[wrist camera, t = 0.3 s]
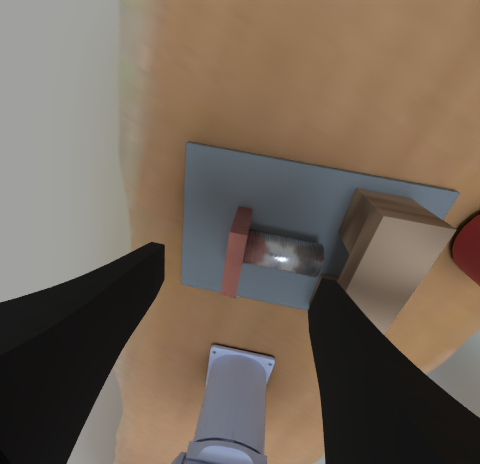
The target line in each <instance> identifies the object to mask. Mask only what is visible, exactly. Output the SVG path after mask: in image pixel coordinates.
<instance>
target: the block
mask: <svg viewBox="0 0 480 464" xmlns="http://www.w3.org/2000/svg"><path fill="white" fill-rule="evenodd" d="M456 231H457V230H456V229H455V228H453V227H452V226H450V225H449V224H448V223H446V222H445V221H443V220H442V219H440V218H439V217H437V216H436V215H434V214H433V213H431V212H430V211H429V210H427V209H426V208H424V207H423V206H421V205H420V204H418V203H417V202H415V201H414V200H413V199H411V198H407V197H402V196H396V195H391V194H385V193H380V192H375V191H369V190H364V189H359V188H356V190H355V192H354V195H353V197H352V199H351V202H350V204H349V207H348V209H347V211H346V214H345V216H344V219H343V221H342V224H341V226H340V228H339V231H338V233H339V235H340V237H341V239H342V241H343V243H344V245H345V247H346V249H347V251H348V253H349V255H350V256H349V258H348V260H347V262H346V264H345V266H344V268H343V271H342V273H341V275H340V277H335V276H330V275H326V274H320V277H319V279H318V282H317V284H316V286H315V289H314V291H313V294H312V296H311V299H310V301H309V307H310V304H311V302H312V300H313V297H314V295H315V293H316V290H317V288H318V286H319V283H320V281H321V279H322V278H327V279H332V280H336V281H337V282H338V283H339V284H340V286H341V287H342V288H343V289H344V290H345V291H346V293H347V294H348V295H349V296H350V297H351V299H352V300H353V301H354V302H355V303H356V305H357V306H358V307H359V308H360V309H361V310H362V312H363V313H364V314H365V315H366V316H367V317H368V318H369V320H370V321H371V322H372V323H373V324H374V325H375V326H376V327H377V328H378V329H379V330H380V331H381V332H382V334H383V335H384V334H385V332H386V331H387V329H388V328H389V326H390V325H391V324H392V322H393V321H394V319H395V318H396V316H397V315H398V314H399V312H400V311H401V309H402V308H403V306H404V305H405V304H406V302H407V301H408V299H409V298H410V296H411V295H412V293H413V292H414V291H415V289H416V288H417V286H418V285H419V283H420V282H421V281H422V279H423V278H424V276H425V275H426V273H427V272H428V271H429V269H430V268H431V266H432V265H433V263H434V262H435V261H436V259H437V258H438V256H439V255H440V253H441V252H442V251H443V249H444V248H445V246H446V245H447V243H448V242H449V241H450V239H451V238H452V236H453V235H454V233H455V232H456Z"/></svg>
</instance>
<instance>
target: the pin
mask: <svg viewBox="0 0 480 464" xmlns="http://www.w3.org/2000/svg"><path fill="white" fill-rule="evenodd" d="M252 211H253V209H251V208H246V207H241V206H239V207H238V209H237V212H236V215H235V218H234V221H233V224H232V227H231V229H230V233H229V239H228V246H227V253H226V259H225V266H224V273H223V279H222V286H221V293H220V295H225V296H230V297H235V298H236V293H237V288H238V283H239V278H240V273H241V268H242V263H245V264H250V265H255V266H260V267H265V268H270V269H275V270H280V271H284V272H289V273H294V274H299V275H304V276H309V277H314V278H316V277H318V276H319V274H320V272H321V269H322V266H323V261H324V247H323V245H322V244H320V243H315V242H310V241H305V240H299V239H294V238H289V237H284V236H279V235H274V234H269V233H264V232H259V231H254V230H249V227H250V222H251V217H252Z"/></svg>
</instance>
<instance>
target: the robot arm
mask: <svg viewBox="0 0 480 464" xmlns="http://www.w3.org/2000/svg"><path fill="white" fill-rule="evenodd" d="M164 264H165V245H164V244H159V243H154V242H151V243H148V244H146V245H144V246H142V247H140V248H138V249H136V250H135V251H133V252H131V253H129V254H127V255H125V256H123V257H121V258H119V259H117V260H115V261H113V262H111V263H109V264H107V265H104V266H102V267H100V268H98V269H96V270H93V271H91V272H89V273H87V274H85V275H82V276H80V277H77V278H75V279H72V280H70V281H67V282H64V283H61V284H59V285H56V286H53V287H51V288H47V289H44V290H41V291H38V292H35V293H31V294H28V295H25V296H22V297H19V298H15V299H12V300H8V301H4V302H1V303H0V464H66V463H67V461H68V459H69V457H70V455H71V452H72V450H73V448H74V446H75V444H76V441H77V439H78V437H79V435H80V432H81V430H82V428H83V426H84V424H85V422H86V420H87V418H88V416H89V414H90V412H91V409H92V407H93V405H94V403H95V401H96V399H97V397H98V395H99V393H100V391H101V389H102V387H103V385H104V383H105V381H106V379H107V377H108V375H109V373H110V372H111V370H112V368H113V366H114V364H115V362H116V360H117V358H118V356H119V355H120V353H121V351H122V349H123V348H124V346H125V344H126V343H127V341H128V339H129V338H130V336H131V335H132V333H133V332H134V330H135V329H136V327H137V326H138V324H139V323H140V321H141V320H142V318H143V317H144V315H145V314H146V312H147V310H148V309H149V307H150V306H151V304H152V303H153V301H154V300H155V298H156V296H157V294H158V292H159V290H160V288H161V286H162V283H163V281H164ZM308 321H309V334H310V340H311V345H312V351H313V356H314V362H315V367H316V372H317V378H318V383H319V390H320V397H321V408H322V419H323V432H324V446H325V461H326V462H325V463H326V464H480V418H479V417H478V416H476V415H475V414H474V413H472V412H471V411H469V410H468V409H467V408H466V407H464V406H463V405H462V404H460V403H459V402H458V401H457V400H455V399H454V398H453V397H452V396H451V395H449V394H448V393H447V392H446V391H444V390H443V389H442V388H441V387H440V386H438V385H437V384H436V383H435V382H434V381H432V380H431V379H430V378H429V377H428V376H426V375H425V374H424V373H423V372H422V371H421V370H420V369H419V368H417V367H416V366H415V365H414V364H413V363H412V362H411V361H410V360H409V359H408V358H407V357H406V356H405V355H403V354H402V353H401V352H400V351H399V350H398V349H397V348H396V347H395V346H394V345H393V344H392V343H391V342H390V341H389V340H388V339H387V338H386V337H385V336H384V335H383V334H382V332H381V331H380V330H379V329H378V328H377V327H376V326H375V325H374V324H373V323H372V322H371V321H370V320H369V318H368V317H367V316H366V315H365V314H364V313H363V312H362V310H361V309H360V308H359V307H358V306H357V305H356V303H355V302H354V301H353V300H352V299H351V297H350V296H349V295H348V294H347V293H346V291H345V290H344V289H343V288H342V287H341V286H340V284H339V283H338V282H337V281H336V280H332V279H327V278H322V279H321V281H320V283H319V286H318V288H317V290H316V293H315V295H314V297H313V300H312V302H311V304H310V307H309V309H308ZM274 364H275V358H273V357H270V356H266V355H261V354H256V353H252V352H247V351H242V350H238V349H233V348H229V347H224V346H219V345H212V346H211V350H210V357H209V364H208V371H207V378H206V385H205V387H206V390H205V394H204V398H203V403H202V407H201V411H200V415H199V419H198V423H197V428H196V432H195V436H194V440H193V441H190V442H189V446H188V450H187V453H185V452H181V453H180V454H179V455H178V456H177V457H176V458H175V459H174V460H173V461H172V463H171V464H267V456H266V455H264V444H265V409H266V385H267V382H268V380H269V377H270V374H271V372H272V369H273V367H274Z"/></svg>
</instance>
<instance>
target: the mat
mask: <svg viewBox="0 0 480 464" xmlns="http://www.w3.org/2000/svg"><path fill="white" fill-rule="evenodd" d="M356 188H359V189H364V190H369V191H375V192H380V193H385V194H391V195H396V196H402V197H407V198H411V199H413V200H414V201H415V202H417V203H418V204H420V205H421V206H423V207H424V208H426V209H427V210H429V211H430V212H431V213H433V214H434V215H436V216H437V217H439V218H440V219H442V220H443V219H444V217H445V216H446V214H447V213H448V211H449V210H450V208H451V207H452V205H453V204H454V202H455V201H456V199H457V197H458V196H459V194H460V193H459V192H457V191H455V190H450V189H445V188H439V187H434V186H429V185H423V184H418V183H412V182H407V181H401V180H396V179H390V178H385V177H379V176H374V175H369V174H363V173H358V172H352V171H347V170H341V169H336V168H330V167H325V166H319V165H314V164H309V163H303V162H298V161H292V160H287V159H281V158H276V157H270V156H265V155H260V154H254V153H249V152H243V151H238V150H232V149H227V148H221V147H216V146H210V145H205V144H200V143H194V142H186V160H185V188H184V215H183V243H182V271H181V284H182V285H187V286H191V287H196V288H201V289H206V290H211V291H216V292H220V293H221V286H222V279H223V273H224V266H225V259H226V253H227V246H228V239H229V233H230V229H231V227H232V224H233V221H234V218H235V215H236V212H237V209H238V207H239V206H241V207H246V208H251V209H253V211H252V217H251V222H250V227H249V230H254V231H259V232H264V233H269V234H274V235H279V236H284V237H289V238H294V239H299V240H305V241H310V242H315V243H320V244H322V245H323V247H324V261H323V266H322V269H321V272H320V274H326V275H330V276H335V277H340V275H341V273H342V271H343V268H344V266H345V264H346V262H347V260H348V258H349V256H350V255H349V253H348V251H347V249H346V247H345V245H344V243H343V241H342V239H341V237H340V235H339V233H338V231H339V228H340V226H341V224H342V221H343V219H344V216H345V214H346V211H347V209H348V207H349V204H350V202H351V199H352V197H353V195H354V192H355V190H356ZM320 274H319V276H318V277H316V278H314V277H309V276H304V275H299V274H294V273H289V272H284V271H280V270H275V269H270V268H265V267H260V266H255V265H250V264H245V263H242V268H241V273H240V278H239V283H238V288H237V293H236V296H240V297H245V298H249V299H254V300H259V301H264V302H269V303H273V304H278V305H283V306H288V307H293V308H298V309H302V310H307V311H308V309H309V301H310V299H311V296H312V294H313V291H314V289H315V286H316V284H317V282H318V279H319V277H320Z"/></svg>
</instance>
